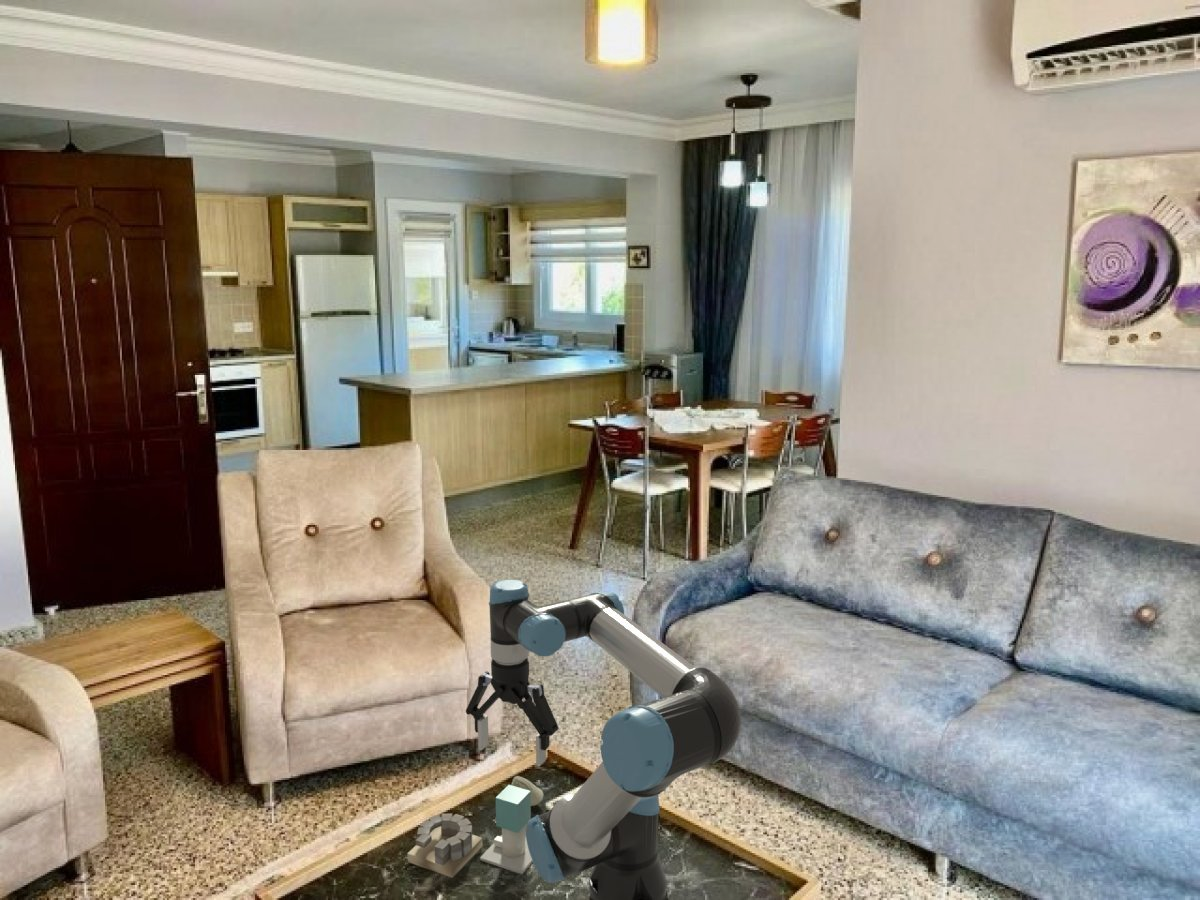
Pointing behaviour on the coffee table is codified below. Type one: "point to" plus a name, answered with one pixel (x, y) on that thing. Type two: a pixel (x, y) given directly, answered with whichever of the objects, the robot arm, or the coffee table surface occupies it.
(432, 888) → the coffee table surface
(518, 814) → the plug
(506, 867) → the mat
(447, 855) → the socket
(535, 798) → the seashell
